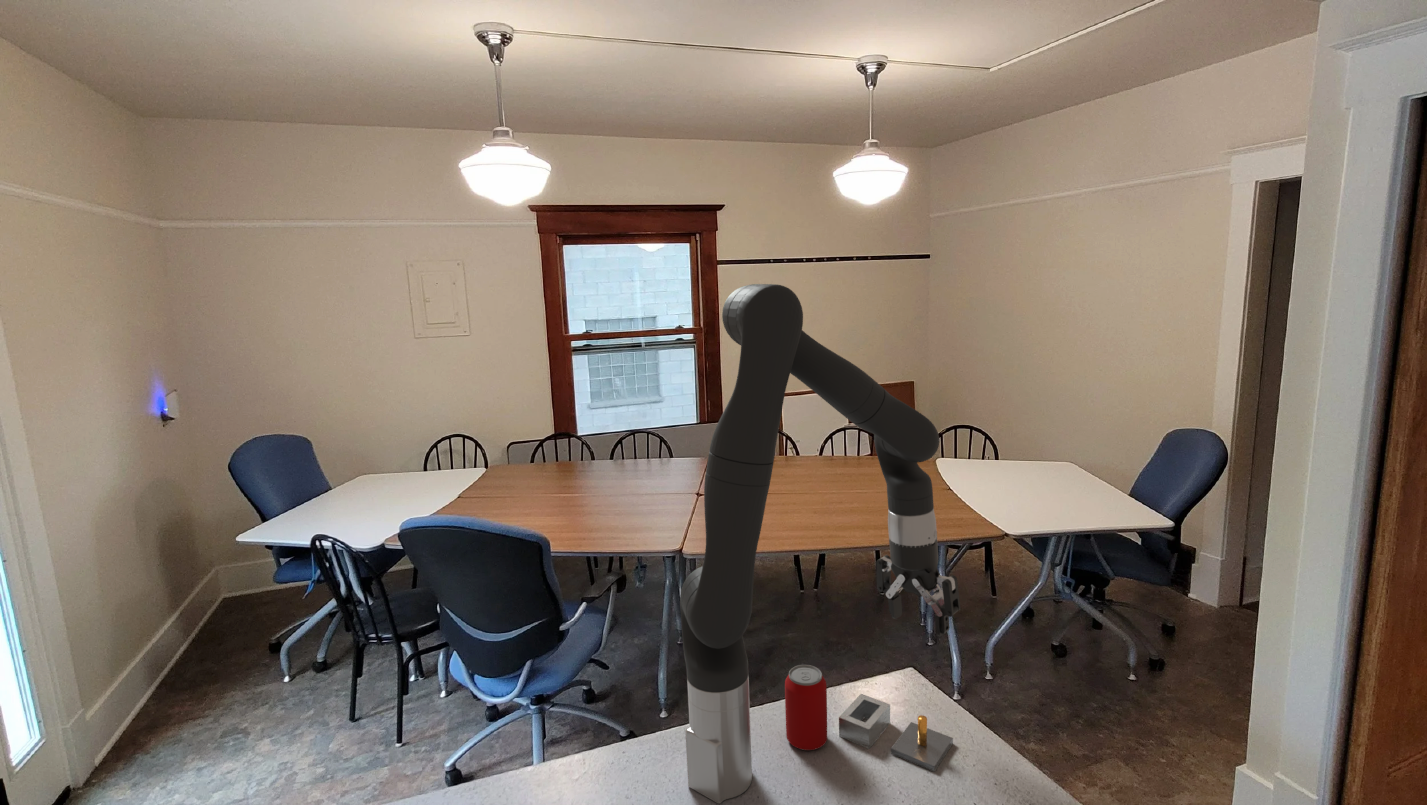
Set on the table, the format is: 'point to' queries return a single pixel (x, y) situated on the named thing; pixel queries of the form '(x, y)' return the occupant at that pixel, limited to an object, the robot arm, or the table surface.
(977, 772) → the table surface
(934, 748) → the grey peg base
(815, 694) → the beverage can
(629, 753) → the table surface
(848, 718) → the silver frame
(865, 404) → the robot arm
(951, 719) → the table surface
